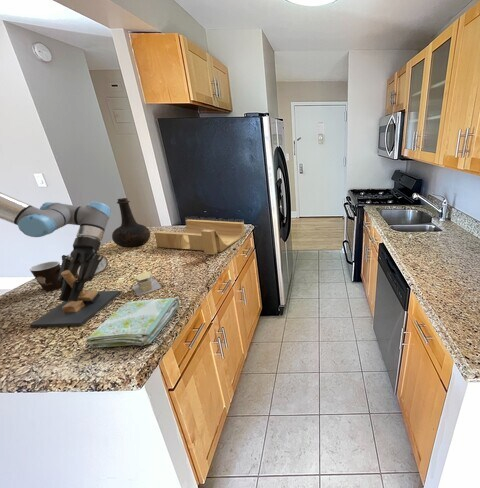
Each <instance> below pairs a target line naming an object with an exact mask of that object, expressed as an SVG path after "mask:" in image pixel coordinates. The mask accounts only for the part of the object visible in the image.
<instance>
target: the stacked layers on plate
mask: <svg viewBox="0 0 480 488" xmlns="http://www.w3.org/2000/svg"><path fill="white" fill-rule="evenodd" d="M152 277H153V275H152V272H151V271H143V272H141V273H139V274H136V275H135V276H134V278H135V282H136V284H135V285H133V286H131V288H132V290H133V292H134V294H135V295H136V296H137V297H138V296H139V297H140V296H142V295H145V294H147V293H151V292H154V291H157V290H159V289H163V286H161V284H160V283H159V282H158V280H157V279H153V278H152Z"/></svg>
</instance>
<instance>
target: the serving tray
mask: <svg viewBox="0 0 480 488" xmlns="http://www.w3.org/2000/svg"><path fill="white" fill-rule="evenodd" d="M97 292H98V293H99V294H100V296H99V298H98V299H97V300H96V301H95V302H94V303H89V304H84V305H85V306H84V307H83V308H81V309H80V310H79V311H77V312H71V313H64V311H63V309H62V307H63V306H64V305H66V304H67V303H69V301H68V302H65V301H62V303H60V304H58V305H57V306H56V307H55V306H54V307H53V308H52V309H51V310H49V311H48V312H46V313H45V314H43V315H42V316H41V317H39V318H38V319H36V320H34V321H33V322H31V323H30V324H29V327H30V328H54V327H55V328H56V327H57V328H58V327H78V326H83V325H84V324H85V323H87V322H88V321H89V320H90V319H92V318H93V317H94V316H95V315H97V314H98V312H100V311H101V310H103V308H105V306H107V305H108V304H110V303H111V302H112V301H114V300H115V299H116V298H117V297H118V296H119V295H120V294H122V292H121V290H99V291H98V290H97Z"/></svg>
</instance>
